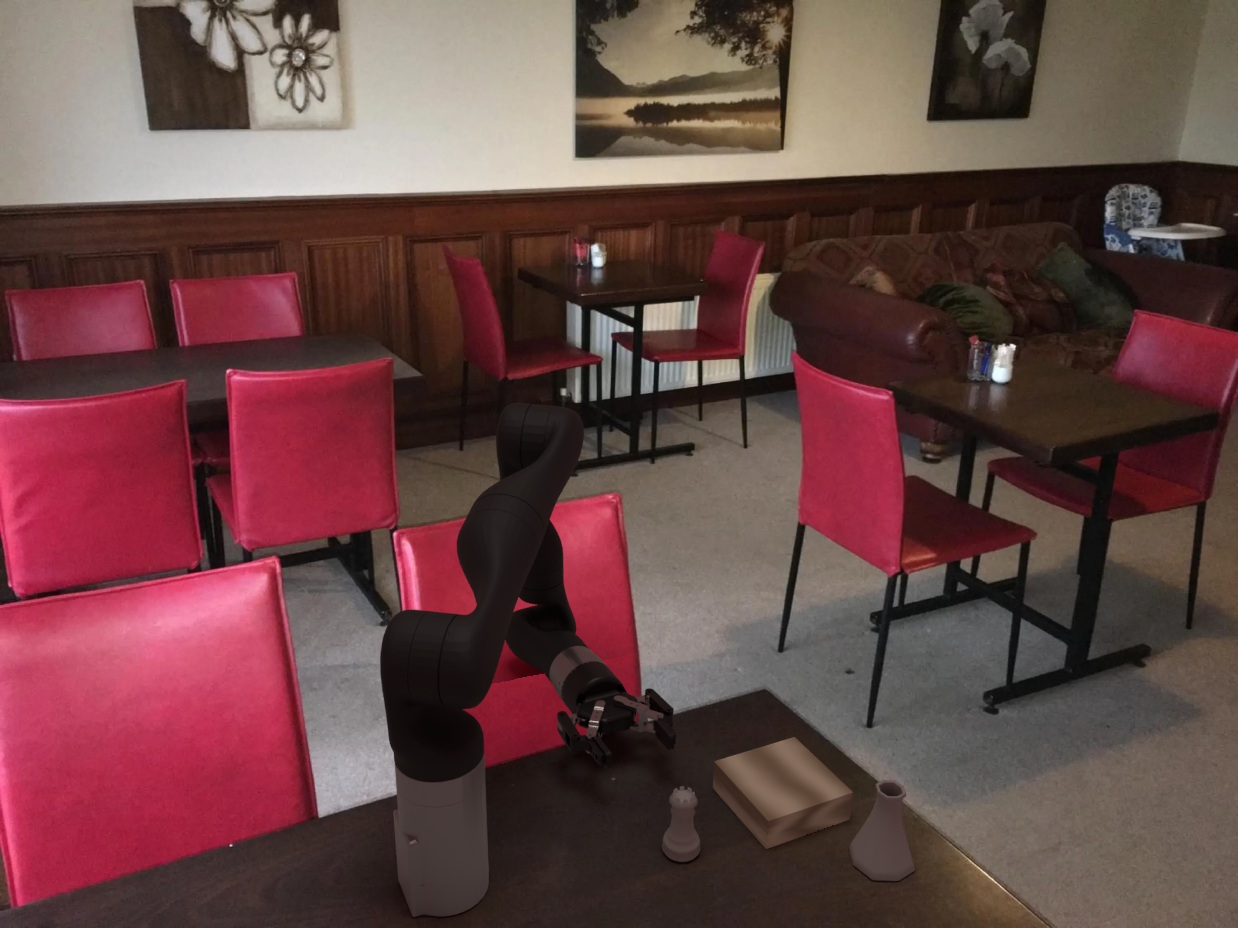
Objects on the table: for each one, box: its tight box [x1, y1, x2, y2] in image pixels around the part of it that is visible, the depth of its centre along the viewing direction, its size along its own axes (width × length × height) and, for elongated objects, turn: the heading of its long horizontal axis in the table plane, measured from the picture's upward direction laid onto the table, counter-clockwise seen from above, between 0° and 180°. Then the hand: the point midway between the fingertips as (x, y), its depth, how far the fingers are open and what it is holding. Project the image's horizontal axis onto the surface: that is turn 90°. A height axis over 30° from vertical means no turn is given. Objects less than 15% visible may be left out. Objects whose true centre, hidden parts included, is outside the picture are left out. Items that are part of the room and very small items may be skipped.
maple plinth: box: [712, 736, 854, 850], centre depth 126 cm, size 12×12×4 cm
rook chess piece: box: [661, 785, 701, 863], centre depth 117 cm, size 4×4×8 cm
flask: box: [848, 779, 916, 882], centre depth 116 cm, size 7×7×10 cm
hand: (641, 752), depth 125 cm, fingers open, 8 cm apart
